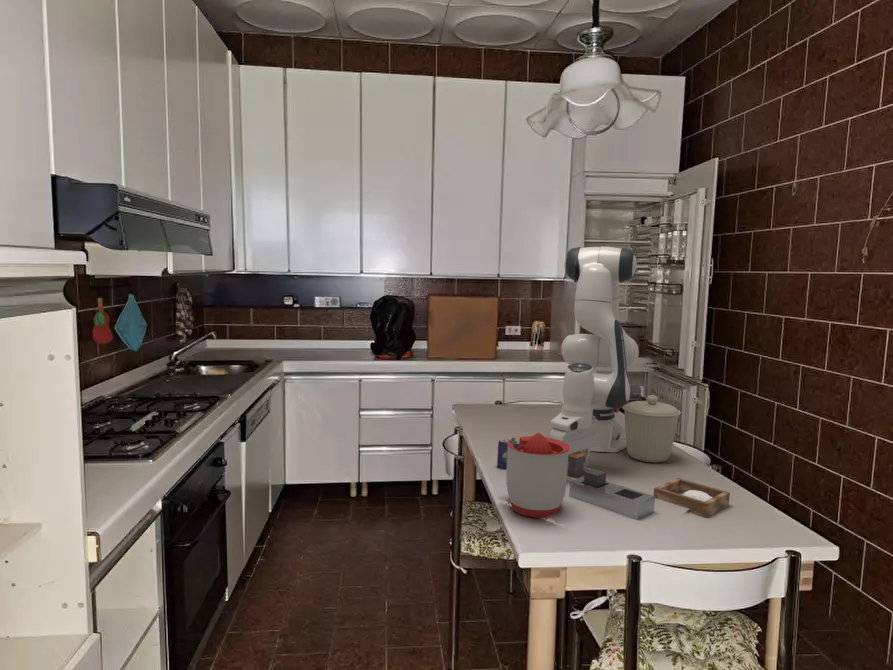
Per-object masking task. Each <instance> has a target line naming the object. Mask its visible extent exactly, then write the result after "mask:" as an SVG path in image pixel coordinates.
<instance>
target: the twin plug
mask: <svg viewBox="0 0 893 670" xmlns="http://www.w3.org/2000/svg"><path fill="white" fill-rule="evenodd" d="M590 469H591V470H588V471H583V476H584V484H586V485H589V486H592V487H595V488H600V487H602V486H605V484H606V481H607V480H606V479H607V471H602V470H599V469H596V468H590Z"/></svg>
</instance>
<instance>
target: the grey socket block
mask: <svg viewBox="0 0 893 670" xmlns="http://www.w3.org/2000/svg"><path fill="white" fill-rule="evenodd" d="M568 490H569V491H568V493H569V494H568V496H569V497H571V498H574V499H577V500H580V501H582V502H585V503H589V504H590V505H593V506H597V507H599V508H603V509H604V510H605V509H606V510H608V511H610V512H614V513H616V514H620V515H622V516H625V517H628V518H630V519H631V518H632V519H633V520H640V519H642V518H645V517H646V516H648V515H650V514H652V513H654V512H655V501H656V498H655V496H654V494H649V493H647V492H643V491H639V490H636V489H633V488H630V487H626V486H623V485H620V484H617V483H614V482H612V481H611V482H610V481H608V480H606V484H605V486H602V487H600V488H595V487H592V486H589V485H586V484H584V475H582V476H580V477H578V478H575V480H572V481H569V489H568Z"/></svg>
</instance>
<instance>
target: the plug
mask: <svg viewBox="0 0 893 670" xmlns="http://www.w3.org/2000/svg"><path fill="white" fill-rule="evenodd" d="M568 463H569V466H568V469H567V476H569V477H572V478H577V477H579V476H580V477H581V476H584V471H583V467H585V466H584V465H585V463H584V452H583V451H578V452H575V453H572V454H568Z"/></svg>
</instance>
